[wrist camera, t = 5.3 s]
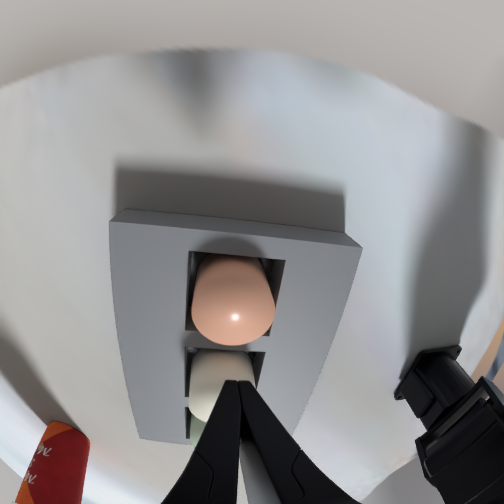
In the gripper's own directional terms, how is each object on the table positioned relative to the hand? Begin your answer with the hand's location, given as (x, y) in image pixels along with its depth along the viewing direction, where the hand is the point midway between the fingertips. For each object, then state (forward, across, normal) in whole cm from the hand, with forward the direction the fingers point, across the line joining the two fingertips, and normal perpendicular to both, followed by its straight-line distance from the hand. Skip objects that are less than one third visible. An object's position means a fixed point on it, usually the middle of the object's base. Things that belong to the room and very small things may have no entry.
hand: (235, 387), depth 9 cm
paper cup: (+9, +17, +24) cm, 30 cm away
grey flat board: (+9, 0, +6) cm, 11 cm away
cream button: (+7, 0, +6) cm, 9 cm away
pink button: (+8, 0, 0) cm, 8 cm away
